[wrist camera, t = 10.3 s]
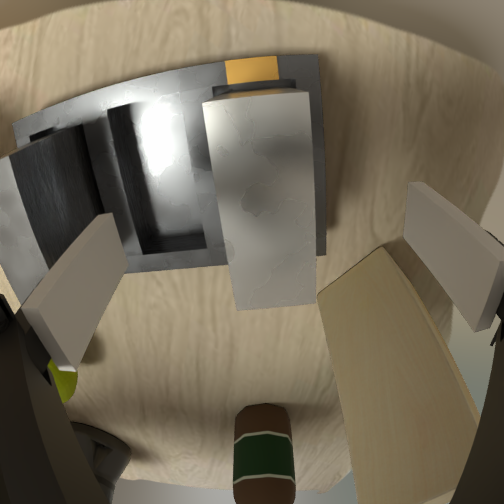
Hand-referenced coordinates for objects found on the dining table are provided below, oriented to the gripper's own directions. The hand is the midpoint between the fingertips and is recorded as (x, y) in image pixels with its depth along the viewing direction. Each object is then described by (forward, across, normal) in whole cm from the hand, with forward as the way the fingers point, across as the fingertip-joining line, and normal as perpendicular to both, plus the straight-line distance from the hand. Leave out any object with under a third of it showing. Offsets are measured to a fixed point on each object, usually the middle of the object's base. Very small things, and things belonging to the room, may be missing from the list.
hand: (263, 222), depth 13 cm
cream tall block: (+11, +9, -14) cm, 20 cm away
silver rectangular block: (+10, 0, 0) cm, 10 cm away
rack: (+11, -7, 0) cm, 13 cm away
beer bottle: (+12, -3, -35) cm, 37 cm away
